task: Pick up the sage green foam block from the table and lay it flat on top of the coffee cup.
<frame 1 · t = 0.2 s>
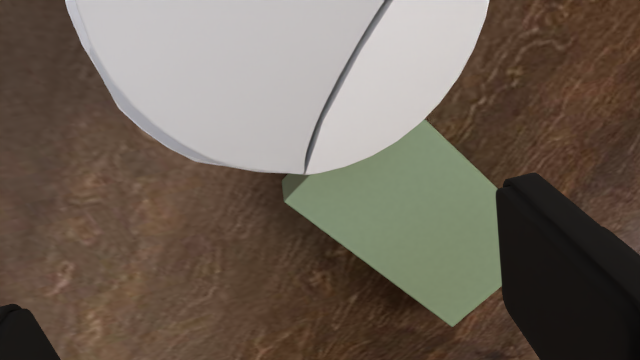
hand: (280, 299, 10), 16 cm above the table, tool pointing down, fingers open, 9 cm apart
sage green foam block: (412, 201, 28), on the table
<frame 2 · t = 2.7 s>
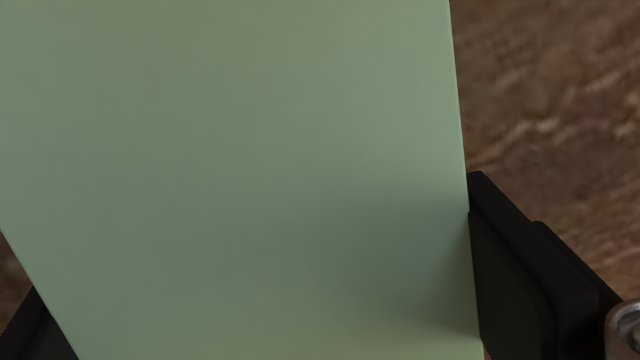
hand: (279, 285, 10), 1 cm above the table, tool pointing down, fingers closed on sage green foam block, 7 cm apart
sage green foam block: (277, 255, 11), on the table, touching gripper
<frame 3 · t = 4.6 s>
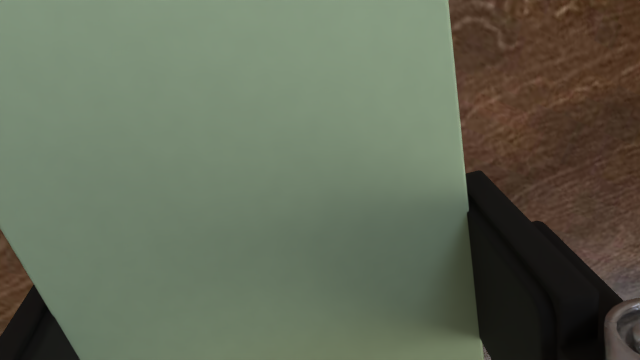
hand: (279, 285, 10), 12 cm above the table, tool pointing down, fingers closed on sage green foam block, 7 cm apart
sage green foam block: (277, 254, 11), point 11 cm above the table, touching gripper
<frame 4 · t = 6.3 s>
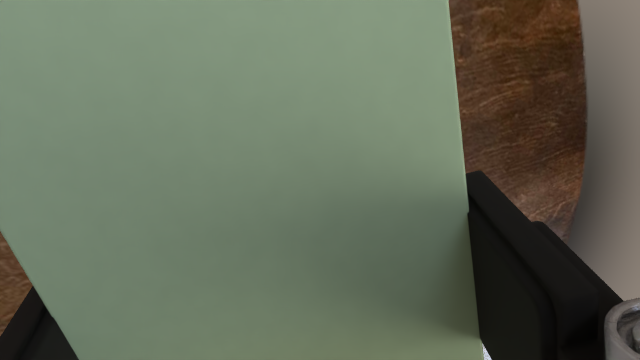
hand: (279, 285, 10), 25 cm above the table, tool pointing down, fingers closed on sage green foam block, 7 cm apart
sage green foam block: (277, 256, 11), point 24 cm above the table, touching gripper
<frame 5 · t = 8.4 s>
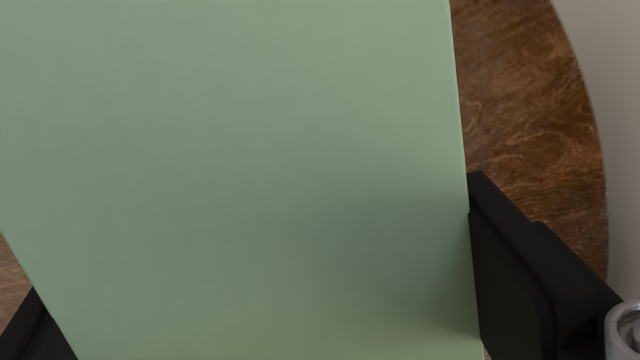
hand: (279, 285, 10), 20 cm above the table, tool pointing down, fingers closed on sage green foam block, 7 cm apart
sage green foam block: (277, 255, 11), point 19 cm above the table, touching gripper
when the fingers open (16 cm above the table, at t = 10.0 s): sage green foam block stays where it is, resting on coffee cup.
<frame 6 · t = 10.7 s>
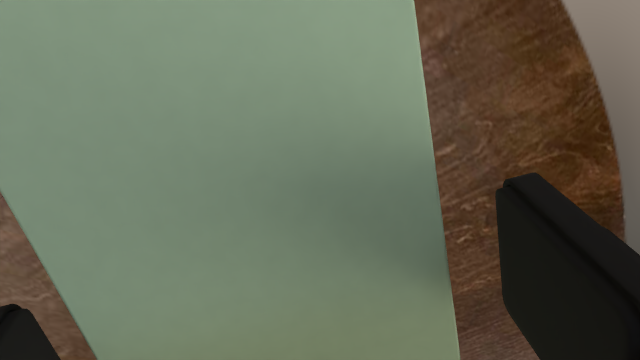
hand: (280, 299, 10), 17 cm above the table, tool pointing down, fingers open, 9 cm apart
sage green foam block: (266, 240, 12), point 15 cm above the table, touching coffee cup
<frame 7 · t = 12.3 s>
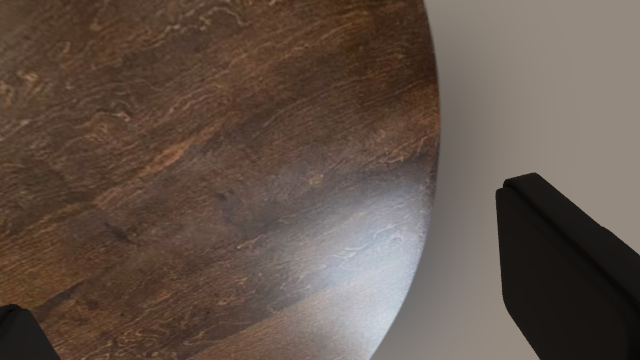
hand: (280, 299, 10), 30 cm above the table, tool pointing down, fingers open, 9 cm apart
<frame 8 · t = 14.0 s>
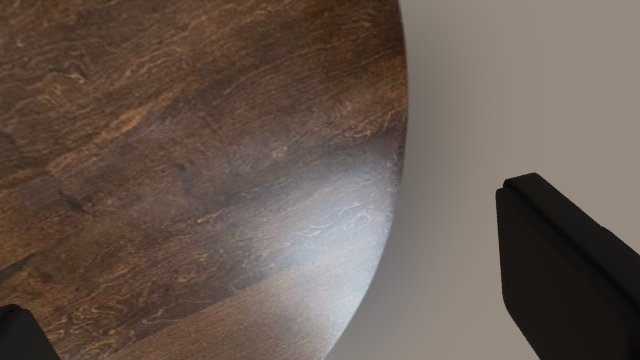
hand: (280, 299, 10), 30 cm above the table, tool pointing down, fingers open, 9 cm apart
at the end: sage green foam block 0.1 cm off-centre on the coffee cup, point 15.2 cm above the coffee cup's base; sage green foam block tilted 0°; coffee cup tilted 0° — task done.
